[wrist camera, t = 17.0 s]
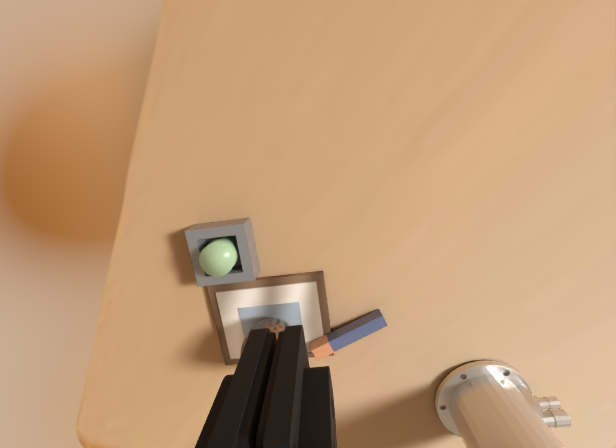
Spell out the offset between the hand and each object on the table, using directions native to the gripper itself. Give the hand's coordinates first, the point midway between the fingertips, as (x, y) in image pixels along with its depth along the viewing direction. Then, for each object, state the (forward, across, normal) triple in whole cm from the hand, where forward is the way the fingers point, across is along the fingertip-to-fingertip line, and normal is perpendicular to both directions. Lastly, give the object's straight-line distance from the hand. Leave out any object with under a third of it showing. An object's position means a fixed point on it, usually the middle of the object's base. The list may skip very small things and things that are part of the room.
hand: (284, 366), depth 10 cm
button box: (+27, +11, +4) cm, 30 cm away
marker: (+27, -3, +17) cm, 32 cm away
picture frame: (+27, +7, +14) cm, 32 cm away
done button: (+26, +11, +4) cm, 29 cm away
